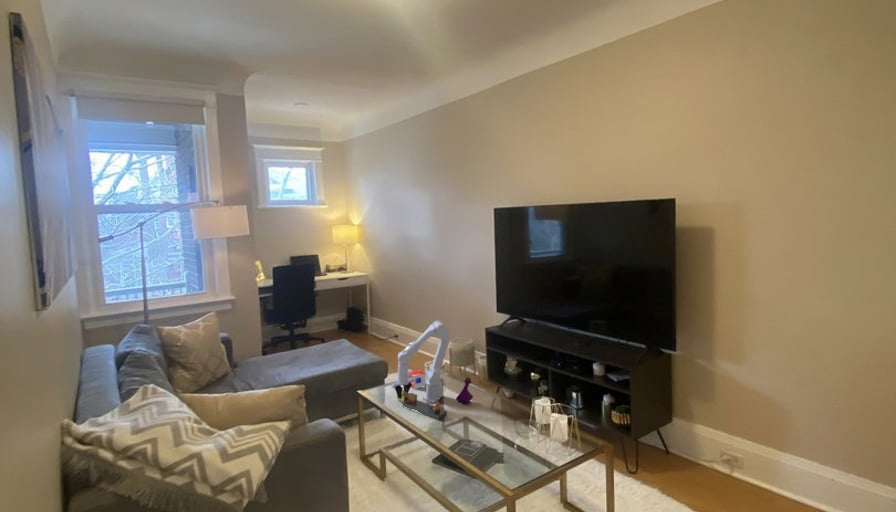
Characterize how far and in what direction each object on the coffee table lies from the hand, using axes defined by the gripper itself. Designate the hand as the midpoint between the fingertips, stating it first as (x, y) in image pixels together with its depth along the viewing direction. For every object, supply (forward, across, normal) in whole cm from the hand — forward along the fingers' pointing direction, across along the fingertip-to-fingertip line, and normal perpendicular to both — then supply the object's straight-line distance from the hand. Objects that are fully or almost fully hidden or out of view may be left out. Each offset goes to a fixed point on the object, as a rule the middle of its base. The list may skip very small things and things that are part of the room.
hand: (402, 396), depth 261 cm
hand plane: (+2, +1, -17) cm, 17 cm away
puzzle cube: (+2, +19, +11) cm, 22 cm away
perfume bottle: (+2, +25, -24) cm, 34 cm away
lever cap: (+1, 0, -1) cm, 2 cm away
